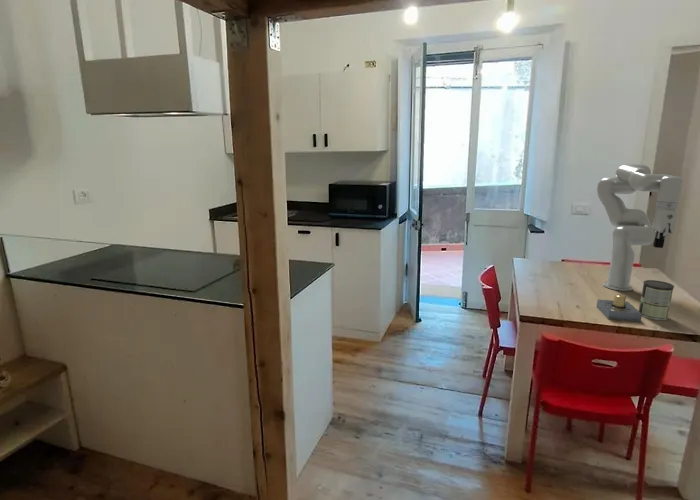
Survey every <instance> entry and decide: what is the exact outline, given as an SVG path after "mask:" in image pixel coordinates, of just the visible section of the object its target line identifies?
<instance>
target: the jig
mask: <svg viewBox="0 0 700 500" xmlns="http://www.w3.org/2000/svg"><path fill="white" fill-rule="evenodd" d="M613 303H614V300H611V299H609V300H608V299H597V301H596V308H597V309H598V310H599V311H600V312H601V313H602V314H603V315H604V316H605V318H607V320H614V321H615V320H616V321H626V322H628V321H629V322H636V323H637V322H639V323H640V322H641V321H642V317H643V316H642V313H641V312H639V309H637V308H636V307H635V306H633V304H631V303H630V302H629V301H625V306H624V309H622V308H616V307H613Z"/></svg>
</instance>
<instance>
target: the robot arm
mask: <svg viewBox="0 0 700 500" xmlns="http://www.w3.org/2000/svg"><path fill="white" fill-rule="evenodd" d="M683 182H684V178H682V176H676V175H675V176H674V175H672V174H665V173H661V174H660V173H652V172H651V168H650V167H649V166H648V165H646V164H623V165H621V166H619V167H618V168H617V169H616V171H615V177H614V176H610V177H609V176H608V177H603V178H601V179H600V180H599V182H598V184H597V187H596V190H597V196H598V198H599V201H600V202H601V203H602V205H603V207H604V208H605V209H604V210H605V212H606V214H607V217H608V219H609V222H610V224H611V225H612V227H614V229H613V231H612V251H611V258H610V264H609V270H608V276H607V281H604V282H603V287H605V288H608V289H611V290H615V291H621V292H622V291H623V292H630V291H633V288H634V287H633V285H630V284H631V278H632V273H633V267H634V261H635V251H634V249H633V248H632V246H649V245H651V244H652V247H654V248H656V249H657V248H658V249H663V248H664V245H665V240H666V238H667V237H668V236H669V234H674V232H675V225H676V220H677V219H676V218H677V210H678V206H679V202H680V196H681V192H682V187H683ZM637 191H640V192H657V196H656V202H655V203H656V204H655V212H654V216H653V219H652V224H651V222H650V220H649V218H648V215H647V214H646V212H645V211H644V210H642V209H636V208H628V207H626V205H625V203H624V200H622V199H621V197H619V196H618V195H619V194H620V195H631V194H633V193H635V192H637ZM616 194H617V195H616Z"/></svg>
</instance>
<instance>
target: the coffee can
mask: <svg viewBox="0 0 700 500" xmlns="http://www.w3.org/2000/svg"><path fill="white" fill-rule="evenodd" d="M674 288H675V286H674V284H672V283H670V282H666V281H662V280H655V279H646V280H644V281H643V285H642V291H641V295H640V296H641V297H640V302H639V307H638V308H639V309H638V311H639V312H641V313H642V317H643V318H646V319H649V320H656V321H666V320H668V318H669V317H668V316H669V311H670V306H671V301H672V297H673V292H674Z"/></svg>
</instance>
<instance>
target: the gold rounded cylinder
mask: <svg viewBox="0 0 700 500" xmlns="http://www.w3.org/2000/svg"><path fill="white" fill-rule="evenodd" d="M626 299H627V297H626V296H625V295H624V294H614V299H613V301H614V303H613V307H616V308H622V309H624V306H625V302H626V301H627V300H626Z"/></svg>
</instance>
